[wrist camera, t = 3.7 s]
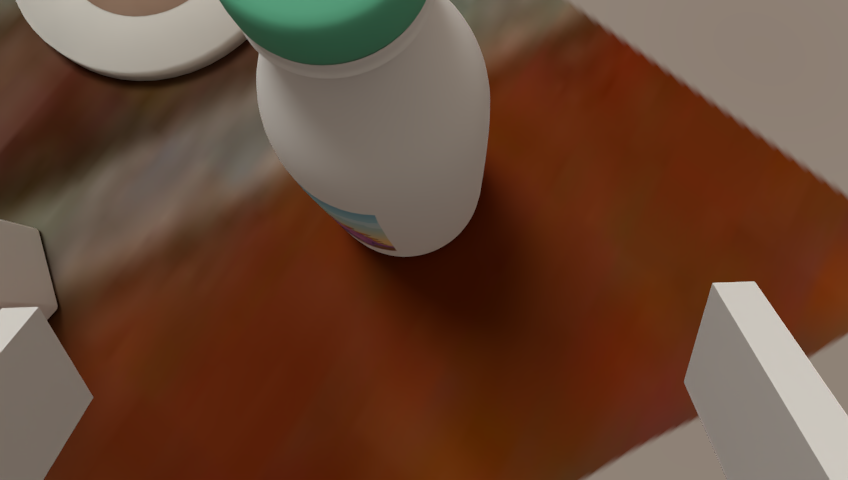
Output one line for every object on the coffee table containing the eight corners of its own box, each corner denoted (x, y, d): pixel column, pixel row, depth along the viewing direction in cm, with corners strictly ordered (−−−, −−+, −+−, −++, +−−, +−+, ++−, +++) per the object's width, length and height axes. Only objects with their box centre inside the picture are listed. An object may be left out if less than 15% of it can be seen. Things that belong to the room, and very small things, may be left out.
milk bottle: (458, 99, 31) (456, -312, 11) (498, 236, 30) (575, 43, 10) (319, 137, 31) (77, -201, 11) (353, 276, 30) (146, 162, 10)
